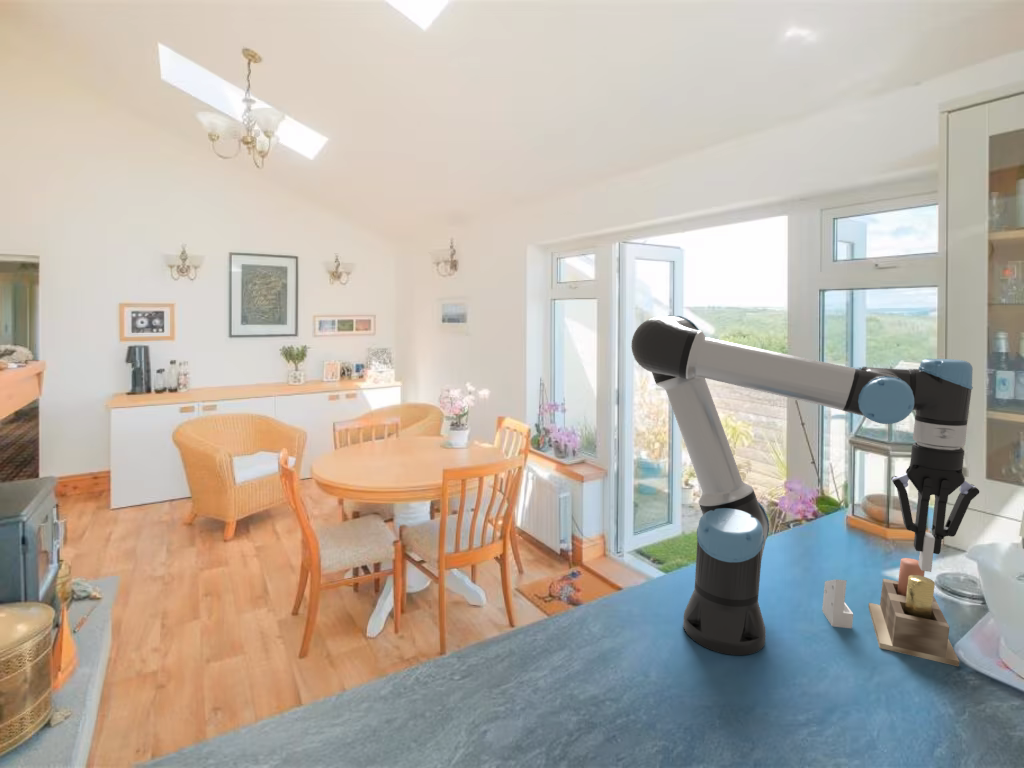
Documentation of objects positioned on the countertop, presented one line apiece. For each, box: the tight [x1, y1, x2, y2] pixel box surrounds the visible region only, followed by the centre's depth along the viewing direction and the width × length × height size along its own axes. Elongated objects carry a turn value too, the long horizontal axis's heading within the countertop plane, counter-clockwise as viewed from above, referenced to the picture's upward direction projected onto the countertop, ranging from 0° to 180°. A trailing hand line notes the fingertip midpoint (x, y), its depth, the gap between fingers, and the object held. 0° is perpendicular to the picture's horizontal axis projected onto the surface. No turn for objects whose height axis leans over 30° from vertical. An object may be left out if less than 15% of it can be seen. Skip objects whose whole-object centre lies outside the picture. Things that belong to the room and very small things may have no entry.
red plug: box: [897, 557, 926, 596], centre depth 111 cm, size 4×4×8 cm
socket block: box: [868, 578, 960, 667], centre depth 108 cm, size 12×16×7 cm
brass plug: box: [904, 575, 936, 619], centre depth 104 cm, size 4×4×8 cm
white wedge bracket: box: [821, 579, 854, 629], centre depth 113 cm, size 4×10×9 cm, turn 169°
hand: (924, 568), depth 103 cm, fingers closed
